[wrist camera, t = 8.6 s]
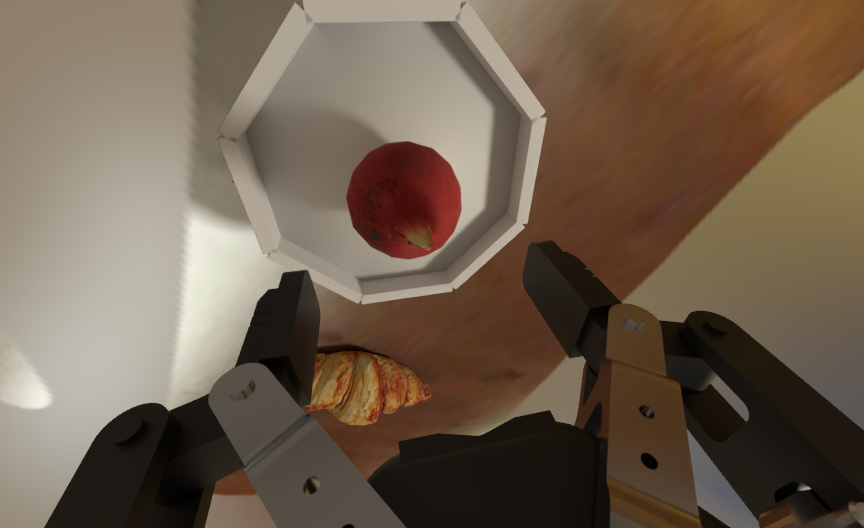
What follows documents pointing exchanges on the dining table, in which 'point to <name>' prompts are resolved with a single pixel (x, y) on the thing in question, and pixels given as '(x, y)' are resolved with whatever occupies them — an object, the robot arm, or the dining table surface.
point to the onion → (404, 200)
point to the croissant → (363, 386)
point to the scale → (381, 138)
